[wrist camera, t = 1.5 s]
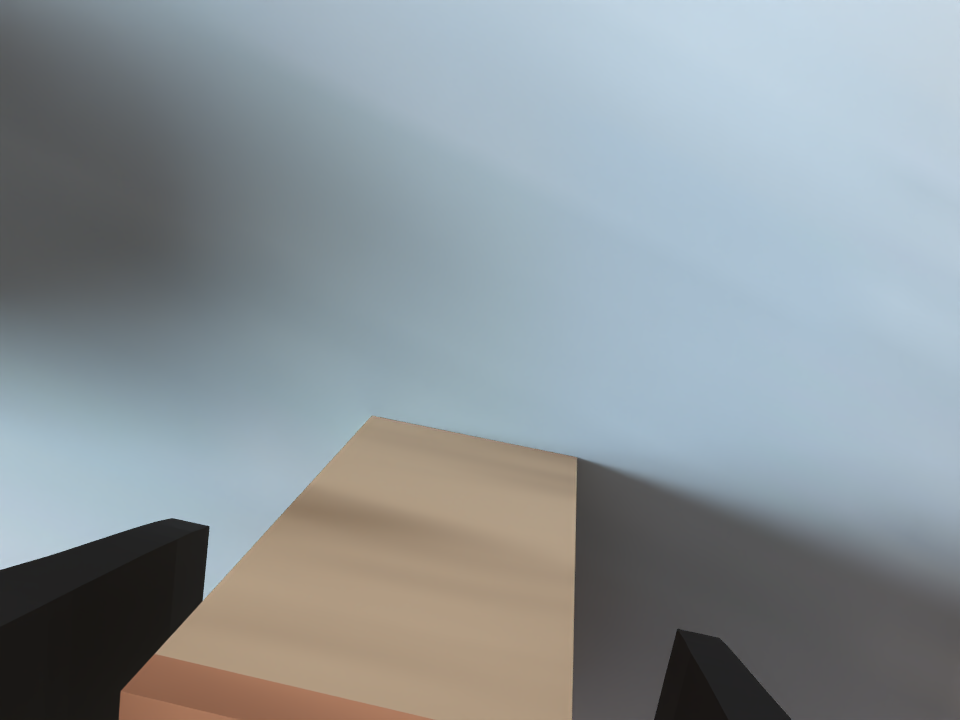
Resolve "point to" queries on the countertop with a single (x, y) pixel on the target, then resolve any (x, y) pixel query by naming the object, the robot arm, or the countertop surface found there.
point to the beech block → (390, 594)
